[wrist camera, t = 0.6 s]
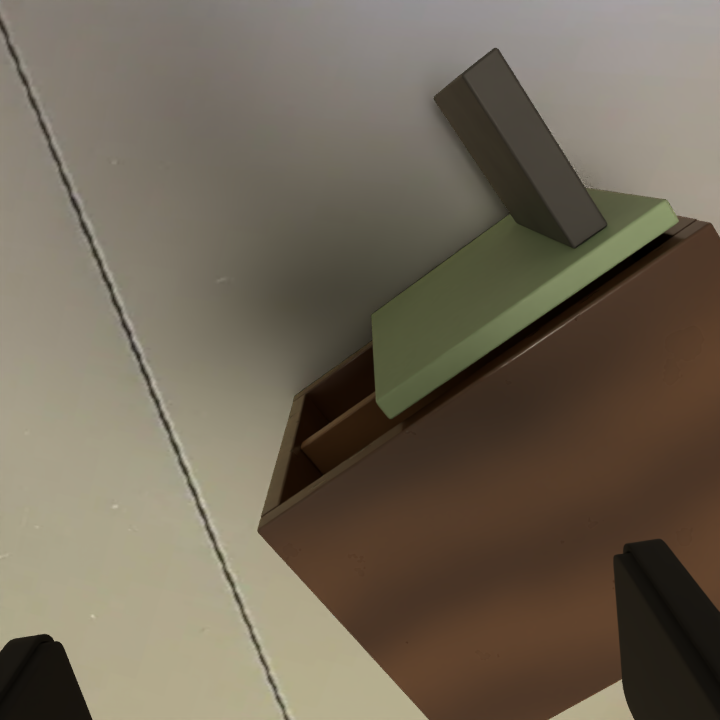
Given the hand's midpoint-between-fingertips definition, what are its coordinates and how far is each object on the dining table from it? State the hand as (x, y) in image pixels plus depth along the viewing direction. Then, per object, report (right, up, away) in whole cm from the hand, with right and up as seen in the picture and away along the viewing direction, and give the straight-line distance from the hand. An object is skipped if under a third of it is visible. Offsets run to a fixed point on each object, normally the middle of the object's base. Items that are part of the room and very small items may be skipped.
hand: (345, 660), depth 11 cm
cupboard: (+7, +3, +21) cm, 22 cm away
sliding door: (+3, +12, +18) cm, 22 cm away
